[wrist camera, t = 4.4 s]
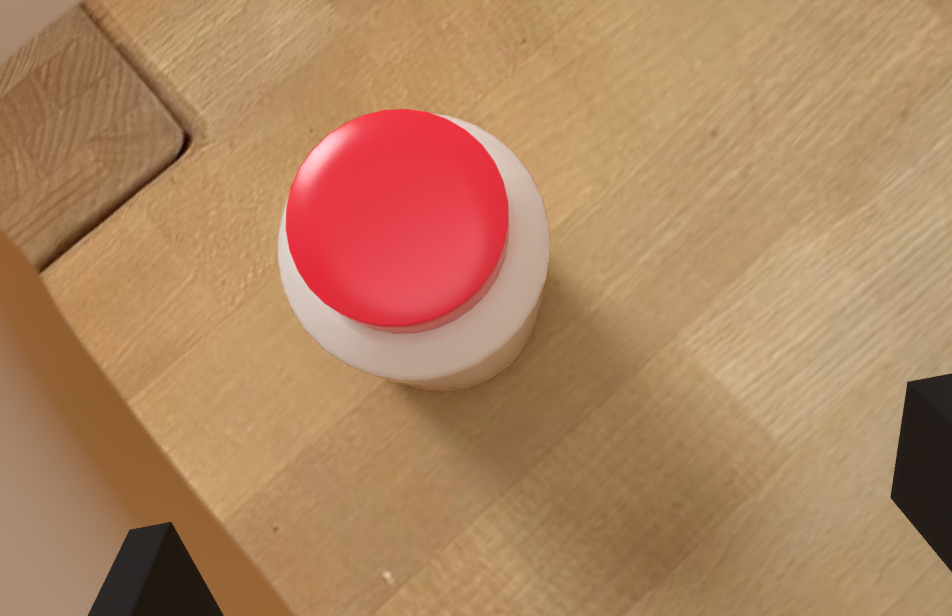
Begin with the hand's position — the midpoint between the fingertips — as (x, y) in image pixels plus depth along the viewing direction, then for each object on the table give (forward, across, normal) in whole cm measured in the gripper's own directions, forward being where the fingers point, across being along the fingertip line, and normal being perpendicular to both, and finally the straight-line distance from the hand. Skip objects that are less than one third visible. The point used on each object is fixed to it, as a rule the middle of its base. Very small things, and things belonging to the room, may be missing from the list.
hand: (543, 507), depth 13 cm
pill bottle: (+15, -2, -3) cm, 16 cm away
